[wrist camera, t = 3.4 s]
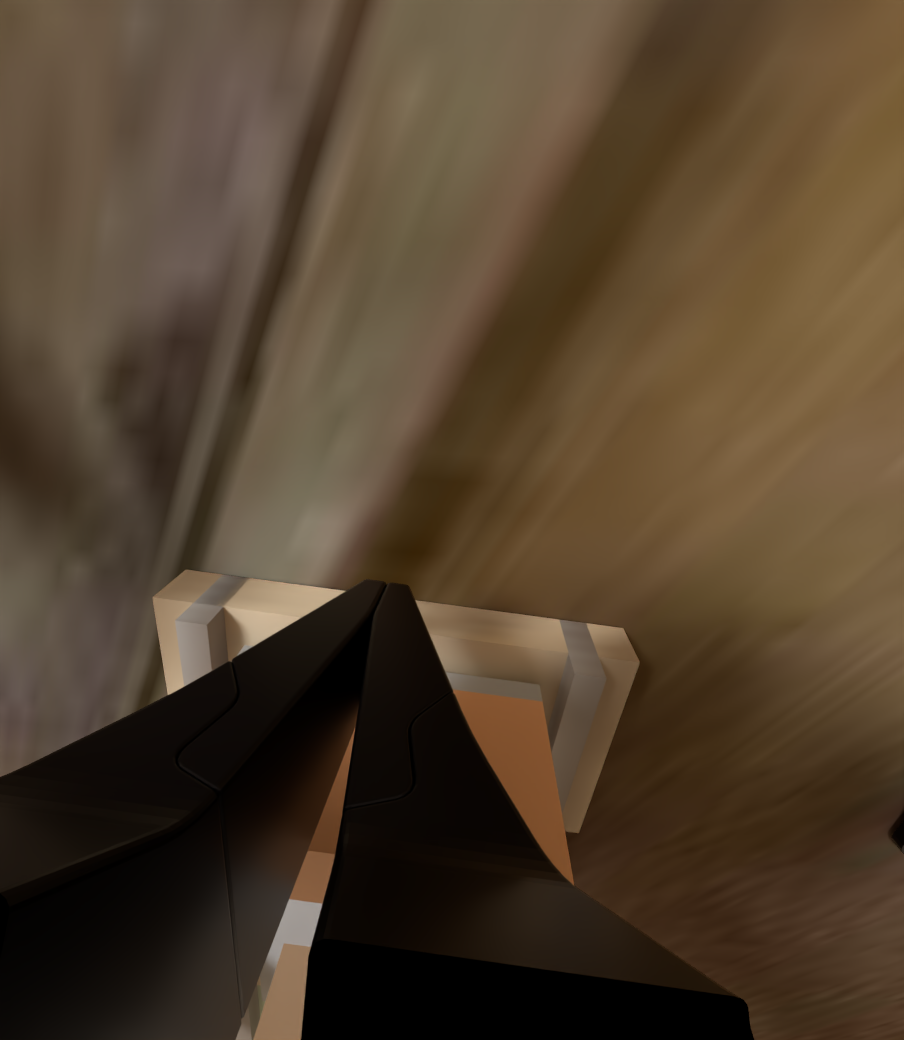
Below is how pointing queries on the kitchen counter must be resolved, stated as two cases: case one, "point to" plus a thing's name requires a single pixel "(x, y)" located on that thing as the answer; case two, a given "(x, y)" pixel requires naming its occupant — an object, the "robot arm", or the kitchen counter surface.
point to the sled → (495, 725)
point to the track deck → (461, 648)
